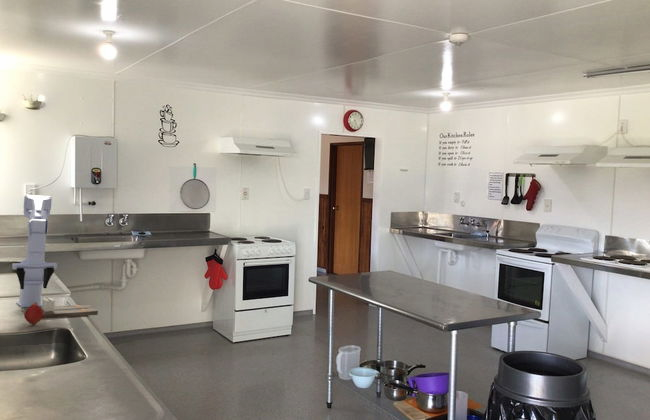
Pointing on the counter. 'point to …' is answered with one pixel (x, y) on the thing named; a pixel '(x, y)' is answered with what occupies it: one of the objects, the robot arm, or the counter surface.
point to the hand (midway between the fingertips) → (33, 288)
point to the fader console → (70, 311)
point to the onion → (33, 314)
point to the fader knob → (48, 304)
